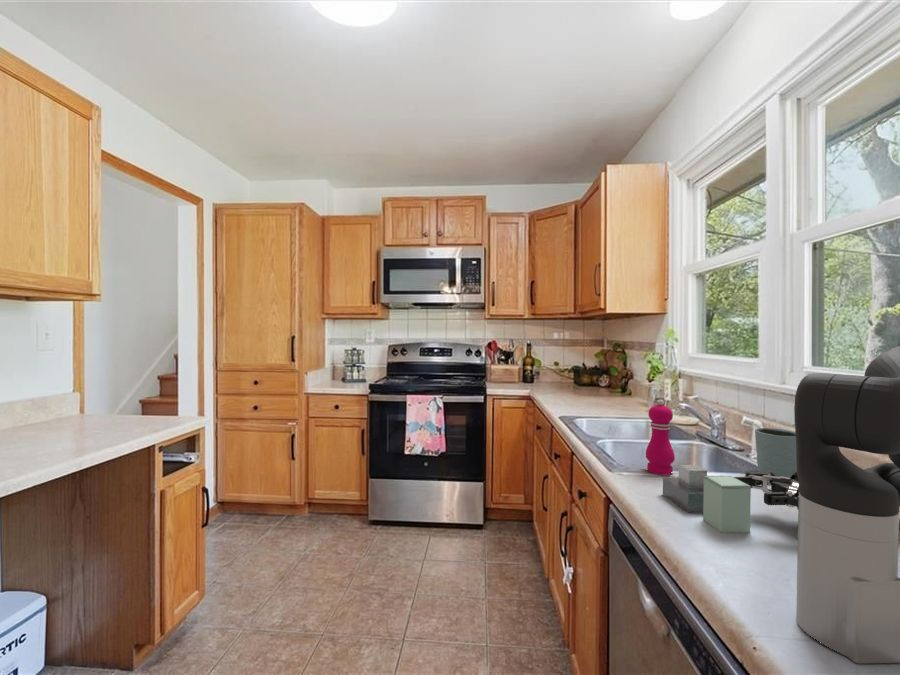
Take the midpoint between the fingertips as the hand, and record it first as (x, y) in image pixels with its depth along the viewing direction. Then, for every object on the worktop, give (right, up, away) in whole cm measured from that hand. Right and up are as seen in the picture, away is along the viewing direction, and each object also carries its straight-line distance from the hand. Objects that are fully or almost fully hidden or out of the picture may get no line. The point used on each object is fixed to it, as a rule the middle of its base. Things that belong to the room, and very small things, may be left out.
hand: (748, 490), depth 83 cm
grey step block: (-5, -7, +11) cm, 14 cm away
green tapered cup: (+28, -7, +29) cm, 41 cm away
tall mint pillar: (-5, -7, 0) cm, 8 cm away
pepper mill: (-2, -7, +32) cm, 33 cm away
